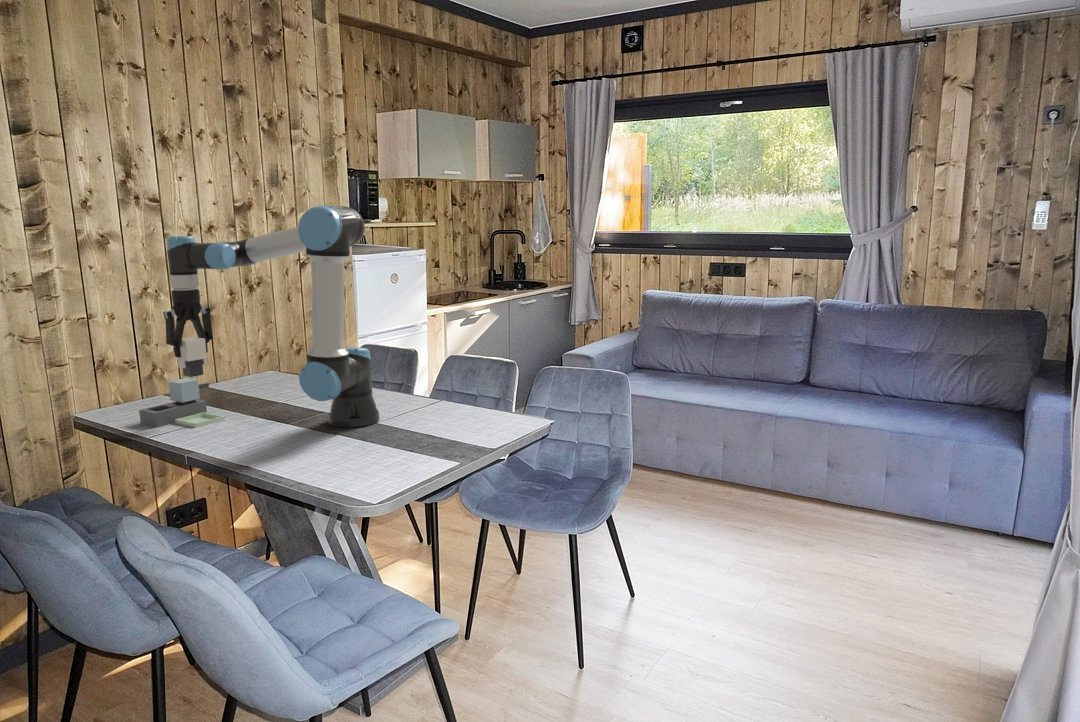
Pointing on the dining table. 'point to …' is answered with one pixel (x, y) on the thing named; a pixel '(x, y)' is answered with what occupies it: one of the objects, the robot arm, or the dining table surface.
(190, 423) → the tray
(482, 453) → the dining table surface
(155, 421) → the strip
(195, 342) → the plug
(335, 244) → the robot arm
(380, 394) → the dining table surface
